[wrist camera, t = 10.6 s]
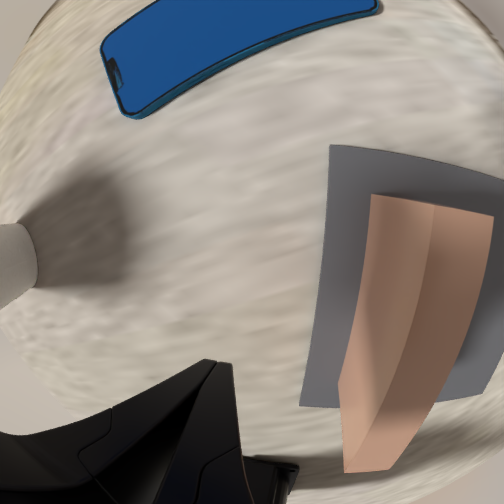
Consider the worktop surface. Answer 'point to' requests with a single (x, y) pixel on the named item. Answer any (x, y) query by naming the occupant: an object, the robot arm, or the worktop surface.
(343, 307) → the mat
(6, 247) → the dixie cup
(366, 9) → the smartphone
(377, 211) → the block
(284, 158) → the worktop surface
